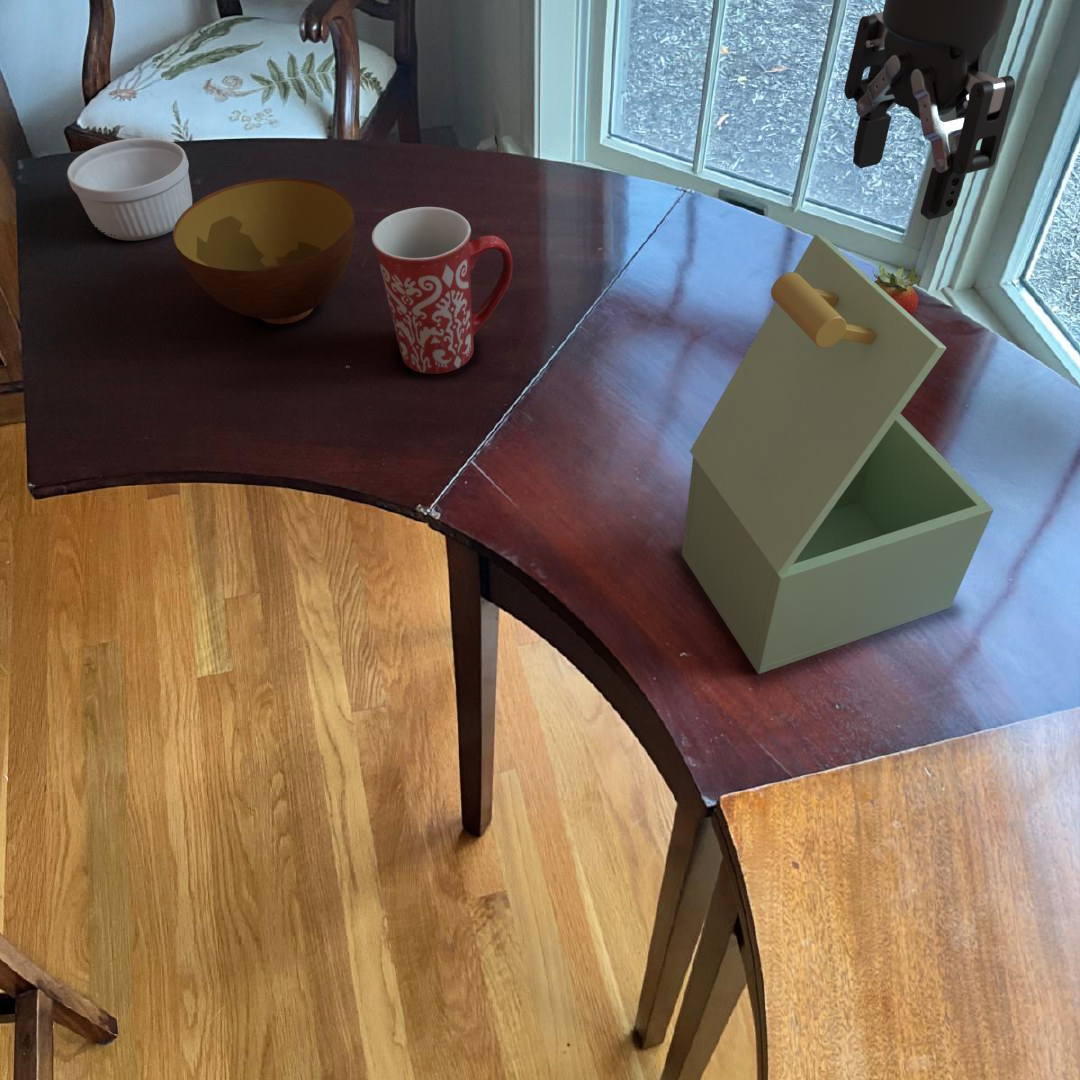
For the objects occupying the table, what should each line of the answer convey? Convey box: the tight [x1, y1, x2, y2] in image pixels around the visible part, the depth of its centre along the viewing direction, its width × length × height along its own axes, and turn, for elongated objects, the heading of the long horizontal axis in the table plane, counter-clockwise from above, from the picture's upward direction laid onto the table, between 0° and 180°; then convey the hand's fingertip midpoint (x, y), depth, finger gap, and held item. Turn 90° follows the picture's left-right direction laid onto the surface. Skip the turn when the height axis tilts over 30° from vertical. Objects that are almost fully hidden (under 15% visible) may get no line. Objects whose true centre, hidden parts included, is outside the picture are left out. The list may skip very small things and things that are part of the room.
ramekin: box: [66, 137, 193, 241], centre depth 117 cm, size 13×13×7 cm
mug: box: [371, 206, 514, 375], centre depth 95 cm, size 13×9×14 cm
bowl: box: [172, 177, 356, 325], centre depth 102 cm, size 18×18×10 cm
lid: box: [689, 233, 947, 574], centre depth 62 cm, size 17×13×5 cm
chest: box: [681, 413, 995, 675], centre depth 74 cm, size 17×13×11 cm
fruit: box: [872, 264, 922, 317], centre depth 96 cm, size 5×5×8 cm
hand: (899, 188), depth 75 cm, fingers open, 8 cm apart
